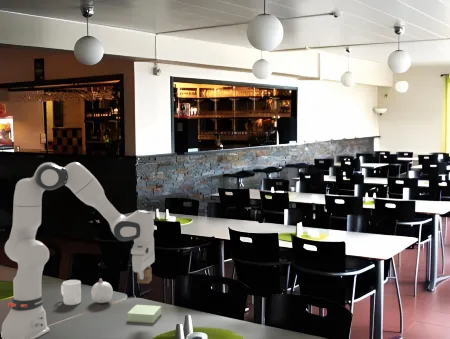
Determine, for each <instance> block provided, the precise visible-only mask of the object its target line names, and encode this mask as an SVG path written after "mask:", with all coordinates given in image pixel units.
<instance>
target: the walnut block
mask: <svg viewBox="0 0 450 339" xmlns="http://www.w3.org/2000/svg"><path fill="white" fill-rule="evenodd" d="M152 269H153V268H152V267H151V266H150V267H147V268H146V269H144V279H140V275H139V273H138V272H136V275H137V276H136V278H137V279H136V280H137V281H136V283H137V284H150V283H151V281H152V280H153V278H152V276H153V273H152V272H153V271H152Z"/></svg>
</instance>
